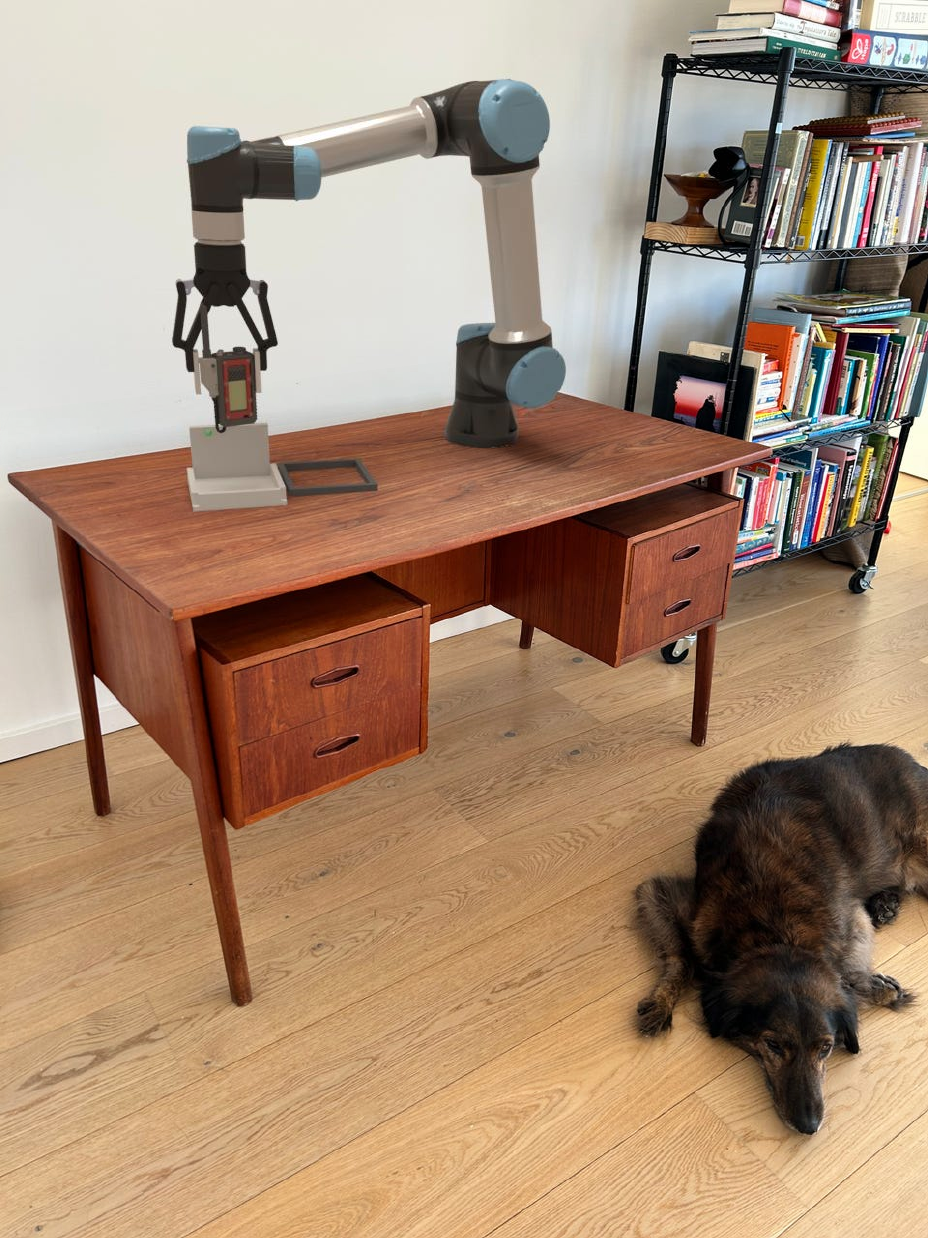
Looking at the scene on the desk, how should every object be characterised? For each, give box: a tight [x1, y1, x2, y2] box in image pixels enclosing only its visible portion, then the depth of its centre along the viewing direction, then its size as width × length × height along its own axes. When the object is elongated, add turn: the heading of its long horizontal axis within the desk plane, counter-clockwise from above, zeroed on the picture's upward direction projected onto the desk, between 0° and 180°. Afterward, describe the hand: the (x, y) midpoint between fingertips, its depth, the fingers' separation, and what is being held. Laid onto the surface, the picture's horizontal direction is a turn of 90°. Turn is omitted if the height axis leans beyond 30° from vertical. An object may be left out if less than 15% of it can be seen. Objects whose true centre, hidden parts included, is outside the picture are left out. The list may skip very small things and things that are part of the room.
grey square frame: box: [277, 457, 378, 497], centre depth 171 cm, size 15×15×2 cm
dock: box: [186, 422, 288, 513], centre depth 161 cm, size 15×15×10 cm
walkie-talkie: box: [198, 305, 258, 433], centre depth 153 cm, size 9×4×20 cm, turn 127°
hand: (228, 391), depth 155 cm, fingers closed on walkie-talkie, 9 cm apart
